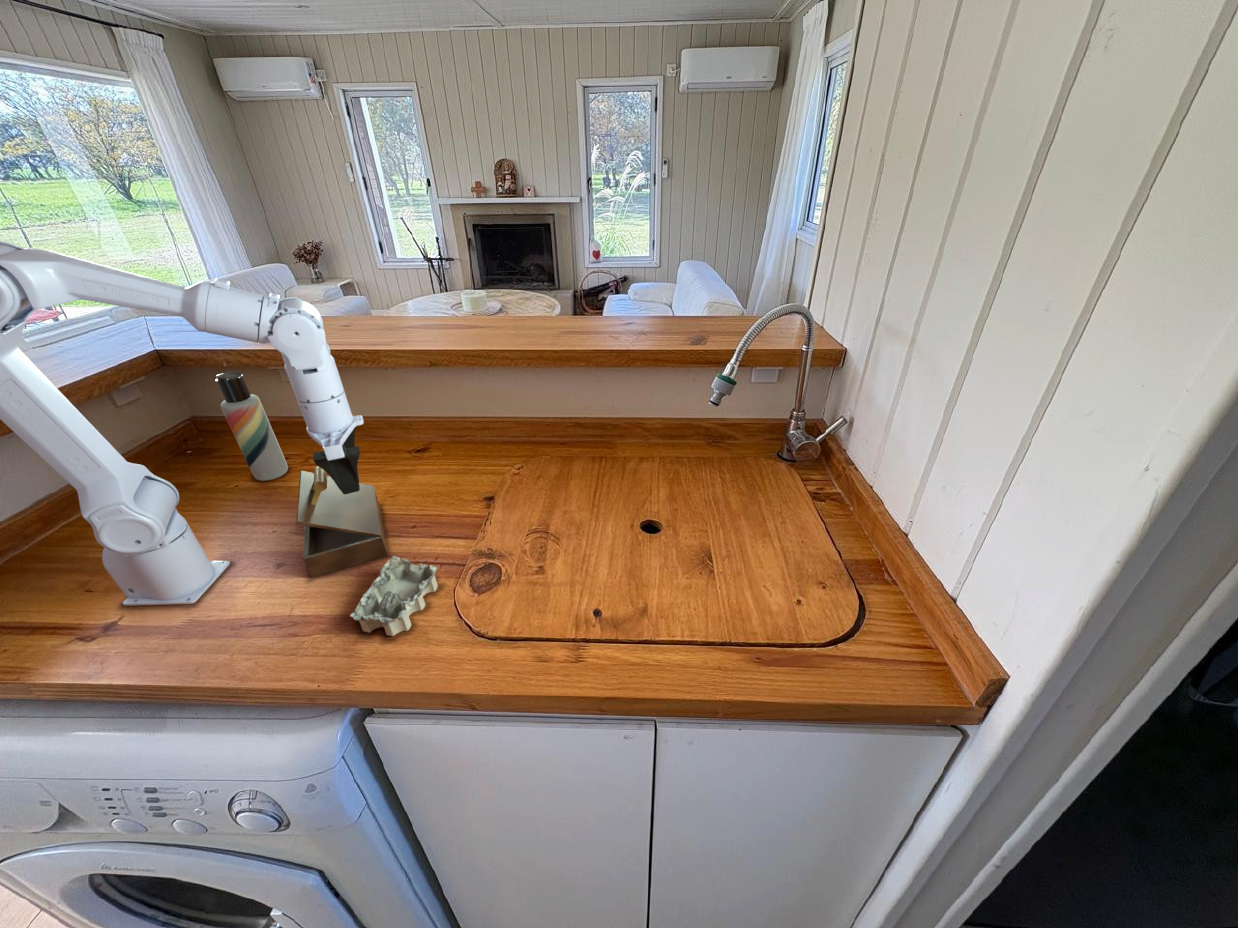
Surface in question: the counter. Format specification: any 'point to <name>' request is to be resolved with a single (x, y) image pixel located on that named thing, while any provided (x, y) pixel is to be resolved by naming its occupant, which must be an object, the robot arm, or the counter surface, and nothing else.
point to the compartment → (340, 549)
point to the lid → (336, 505)
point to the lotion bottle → (251, 428)
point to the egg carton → (395, 596)
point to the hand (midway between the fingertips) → (350, 478)
